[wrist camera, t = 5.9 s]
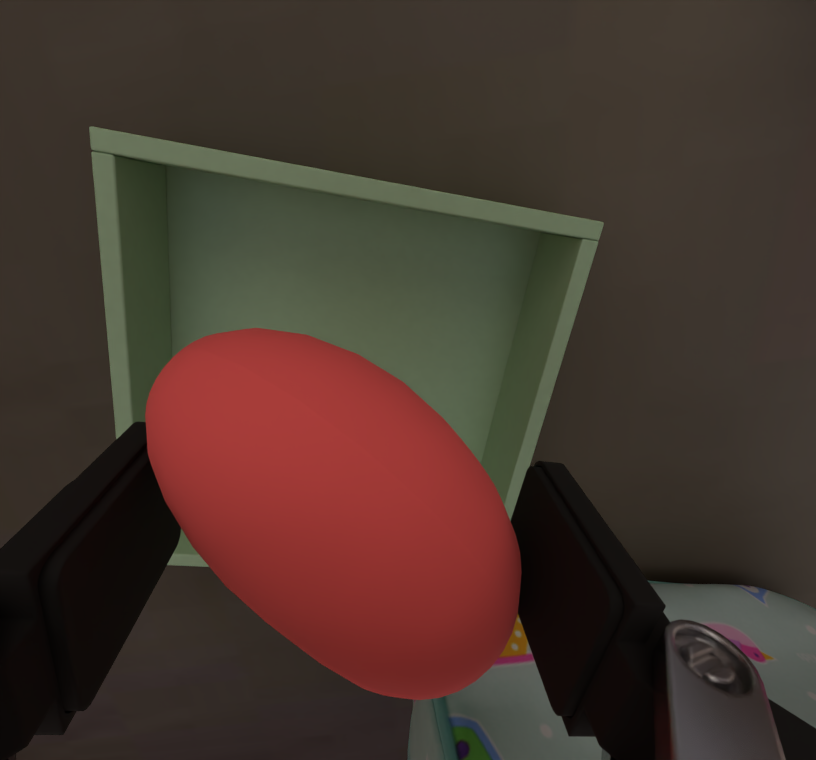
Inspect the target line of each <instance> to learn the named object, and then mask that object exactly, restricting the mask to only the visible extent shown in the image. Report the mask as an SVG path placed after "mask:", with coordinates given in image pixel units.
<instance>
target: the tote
mask: <svg viewBox="0 0 816 760" xmlns="http://www.w3.org/2000/svg"><path fill="white" fill-rule="evenodd" d="M89 131H90V143H91V149H92V150H93V152H92V153H91V154H92V166H93V177H94V189H95V200H96V212H97V223H98V234H99V246H100V257H101V269H102V280H103V292H104V303H105V315H106V326H107V338H108V349H109V361H110V372H111V383H112V395H113V406H114V418H115V429H116V439H118V438H119V437H120V436H121V435H122V434H123V433H124V432H125V431H126V430H127V429H128V428H129V427H130V426H131V425H132V424H133V423H135V422H138V421H139V422H146V420H145V411H146V403H147V400H148V396H149V393H150V390H151V388H152V386H153V384H154V382H155V380H156V378H157V377H158V375H159V374H160V372H161V371H162V369H163V368H164V367H165V365H166V364H167V363H168V362H169V361H170V360H171V359H172V358H173V357H174V356H175V355H176V354H177V353H178V352H179V351H181V350H182V349H183V348H184V347H186V346H188V345H189V344H191V343H192V342H194V341H196V340H198V339H200V338H203V337H205V336H208V335H212V334H216V333H222V332H229V331H235V330H242V329H250V328H262V329H270V330H277V331H284V332H291V333H299V334H306V335H309V336H312V337H314V338H317V339H320V340H322V341H325V342H327V343H330V344H333V345H335V346H338V347H341V348H343V349H346V350H348V351H351V352H354V353H356V354H359V355H360V356H362V357H363V358H365V359H367V360H368V361H370V362H372V363H373V364H375V365H377V366H378V367H380V368H381V369H383V370H385V371H386V372H388V373H390V374H391V375H393V376H395V377H396V378H398V379H399V380H401V381H403V382H404V383H405V384H406V385H407V386H408V387H409V388H411V389H412V390H413V391H414V392H415V393H416V394H417V395H418V396H419V397H421V398H422V399H423V400H424V401H425V402H426V403H427V404H428V405H429V406H431V407H432V408H433V409H434V410H435V411H436V412H437V413H438V414H439V415H441V416H442V417H443V418H444V420H445V421H446V422H447V423H448V424H449V425H450V426H451V428H452V429H453V430H454V431H455V432H456V433H457V435H458V436H459V437H460V438H461V439H462V440H463V442H464V443H465V444H466V445H467V447H468V448H469V449H470V450H471V452H472V453H473V454H474V456H475V457H476V458H477V460H478V461H479V462H480V464H481V465H482V466H483V468H484V469H485V471H486V472H487V474H488V475H489V477H490V478H491V480H492V482H493V483H494V485H495V487H496V489H497V491H498V493H499V495H500V497H501V499H502V502H503V504H504V507H505V509H506V512H507V514H508V516H509V519H510V521H511V518H512V515H513V512H514V508H515V505H516V502H517V499H518V496H519V493H520V490H521V487H522V484H523V480H524V477H525V474H526V471H527V469H528V468H529V466H530V463H531V460H532V457H533V453H534V450H535V447H536V444H537V440H538V437H539V434H540V431H541V427H542V424H543V421H544V418H545V414H546V411H547V408H548V405H549V401H550V398H551V395H552V392H553V388H554V385H555V382H556V379H557V375H558V372H559V369H560V366H561V362H562V359H563V356H564V353H565V349H566V346H567V343H568V340H569V336H570V333H571V330H572V327H573V323H574V320H575V317H576V314H577V310H578V307H579V304H580V301H581V297H582V294H583V291H584V288H585V284H586V281H587V278H588V275H589V271H590V268H591V265H592V262H593V258H594V255H595V252H596V249H597V245H598V240H599V238H600V235H601V231H602V228H603V225H604V223H603V222H600V221H595V220H590V219H584V218H579V217H574V216H568V215H563V214H558V213H552V212H547V211H542V210H536V209H531V208H526V207H520V206H515V205H510V204H504V203H499V202H494V201H488V200H483V199H478V198H472V197H467V196H461V195H456V194H451V193H445V192H440V191H435V190H429V189H424V188H419V187H413V186H408V185H403V184H397V183H392V182H387V181H381V180H376V179H371V178H365V177H360V176H355V175H349V174H344V173H339V172H333V171H328V170H323V169H317V168H312V167H306V166H301V165H296V164H290V163H285V162H280V161H274V160H269V159H264V158H258V157H253V156H248V155H242V154H237V153H232V152H226V151H221V150H216V149H210V148H205V147H200V146H194V145H189V144H184V143H178V142H173V141H168V140H162V139H157V138H151V137H146V136H141V135H135V134H130V133H125V132H119V131H114V130H109V129H103V128H98V127H93V126H92V127H90V128H89ZM167 565H180V566H203V567H209V566H208V564H207V563H206V562H205V561H204V560H203V559H202V557H201V556H200V555H199V554H198V553H197V551H196V550H195V549H194V548H193V547H192V545H191V543H190V542H189V540H188V538H187V537H186V535H185V533H184V532H183V530H182V529H181V534H180V539H179V542H178V545H177V547H176V549H175V551H174V553H173V555H172V556H171V558H170V560H169V562H168V564H167Z"/></svg>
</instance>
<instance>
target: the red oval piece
mask: <svg viewBox="0 0 816 760" xmlns="http://www.w3.org/2000/svg"><path fill="white" fill-rule="evenodd" d="M145 420H146V433H147V449H148V456H149V459H150V463H151V466H152V469H153V471H154V474H155V477H156V479H157V482H158V484H159V487H160V490H161V492H162V495H163V498H164V500H165V502H166V504H167V505H168V507H169V509H170V510H171V512H172V514H173V515H174V517H175V519H176V520H177V522H178V524H179V525H180V527H181V529H182V530H183V532H184V533H185V535H186V537H187V538H188V540H189V542H190V543H191V545H192V547H193V548H194V549H195V550H196V551H197V553H198V554H199V555H200V556H201V557H202V559H203V560H204V561H205V562H206V563H207V564H208V566H209V567H210V568H211V569H212V570H213V572H214V573H215V574H216V575H217V576H218V577H219V579H220V580H221V581H222V582H223V583H224V585H225V586H226V587H227V588H228V589H229V590H231V591H232V592H233V593H234V594H235V595H236V596H237V597H238V598H240V599H241V600H242V601H243V602H244V603H245V604H246V605H247V606H248V607H250V608H251V609H252V610H253V611H254V612H255V613H256V614H257V615H258V616H260V617H261V618H262V619H263V620H264V621H265V622H266V623H268V624H269V625H270V626H272V627H273V628H274V629H276V630H277V631H278V632H279V633H281V634H282V635H283V636H285V637H286V638H287V639H289V640H290V641H291V642H292V643H294V644H295V645H296V646H298V647H299V648H300V649H302V650H303V651H304V652H306V653H307V654H308V655H310V656H311V657H312V658H314V659H315V660H316V661H318V662H319V663H320V664H322V665H324V666H325V667H327V668H329V669H330V670H332V671H334V672H336V673H337V674H339V675H341V676H342V677H344V678H346V679H347V680H349V681H351V682H352V683H354V684H356V685H358V686H359V687H361V688H363V689H365V690H368V691H371V692H374V693H378V694H381V695H385V696H391V697H397V698H405V699H414V700H425V699H434V698H440V697H443V696H446V695H449V694H452V693H455V692H458V691H460V690H462V689H463V688H465V687H467V686H468V685H470V684H472V683H473V682H475V681H477V680H478V679H479V678H480V677H481V676H482V675H483V674H484V673H485V672H486V671H488V670H489V669H490V668H491V667H492V665H493V664H494V663H495V661H496V660H497V659H498V657H499V656H500V655H501V653H502V652H503V651H504V649H505V647H506V645H507V643H508V640H509V638H510V636H511V634H512V632H513V629H514V625H515V621H516V618H517V614H518V606H519V596H520V585H521V574H522V570H521V556H520V549H519V545H518V542H517V538H516V534H515V531H514V529H513V526H512V524H511V521H510V519H509V516H508V514H507V512H506V509H505V507H504V504H503V502H502V499H501V497H500V495H499V493H498V491H497V489H496V487H495V485H494V483H493V482H492V480H491V478H490V477H489V475H488V474H487V472H486V471H485V469H484V468H483V466H482V465H481V464H480V462H479V461H478V460H477V458H476V457H475V456H474V454H473V453H472V452H471V450H470V449H469V448H468V447H467V445H466V444H465V443H464V442H463V440H462V439H461V438H460V437H459V436H458V435H457V433H456V432H455V431H454V430H453V429H452V428H451V426H450V425H449V424H448V423H447V422H446V421H445V420H444V418H443V417H442V416H441V415H439V414H438V413H437V412H436V411H435V410H434V409H433V408H432V407H431V406H429V405H428V404H427V403H426V402H425V401H424V400H423V399H422V398H421V397H419V396H418V395H417V394H416V393H415V392H414V391H413V390H412V389H411V388H409V387H408V386H407V385H406V384H405V383H404V382H403V381H401V380H399V379H398V378H396V377H395V376H393V375H391V374H390V373H388V372H386V371H385V370H383V369H381V368H380V367H378V366H377V365H375V364H373V363H372V362H370V361H368V360H367V359H365V358H363V357H362V356H360V355H359V354H356V353H354V352H351V351H348V350H346V349H343V348H341V347H338V346H335V345H333V344H330V343H327V342H325V341H322V340H320V339H317V338H314V337H312V336H309V335H306V334H299V333H291V332H284V331H277V330H270V329H262V328H250V329H242V330H235V331H229V332H222V333H216V334H212V335H208V336H205V337H203V338H200V339H198V340H196V341H194V342H192V343H191V344H189V345H188V346H186V347H184V348H183V349H182V350H181V351H179V352H178V353H177V354H176V355H175V356H174V357H173V358H172V359H171V360H170V361H169V362H168V363H167V364H166V365H165V367H164V368H163V369H162V371H161V372H160V374H159V375H158V377H157V378H156V380H155V382H154V384H153V386H152V388H151V390H150V393H149V396H148V400H147V403H146V411H145Z"/></svg>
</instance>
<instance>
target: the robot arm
mask: <svg viewBox="0 0 816 760" xmlns="http://www.w3.org/2000/svg"><path fill="white" fill-rule="evenodd" d="M511 524H512V526H513V529H514V531H515V534H516V538H517V542H518V545H519V549H520V556H521V570H522V574H521V585H520V596H519V606H518V615H519V618H520V621H521V624H522V626H523V629H524V632H525V635H526V638H527V640H528V643H529V646H530V649H531V652H532V654H533V657H534V660H535V663H536V666H537V669H538V671H539V674H540V677H541V680H542V683H543V685H544V688H545V691H546V694H547V697H548V699H549V702H550V705H551V707H552V710H553V711H554V713H555V714H556V715H557V716H561V717H562V720H563V722H564V725H565V728H566V730H567V733H568V736H569V737H596V739H597V742H598V744H599V746H600V747H601V748H602V755H601V760H816V728H815V727H813V726H811V725H810V724H808V723H807V722H805V721H803V720H802V719H800V718H799V717H797V716H796V715H794V714H792V713H791V712H789V711H788V710H786V709H784V708H783V707H781V706H780V705H778V704H777V703H775V702H773V701H772V700H770V699H769V698H768V697H767V694H766V691H765V687H764V684H763V681H762V679H761V677H760V675H759V672H758V670H757V669H756V667H755V666H754V665H753V663H752V662H751V661H750V659H749V658H748V657H747V656H746V655H745V654H744V653H743V652H742V651H741V650H740V649H739V648H738V647H737V646H736V645H735V644H734V643H733V642H731V641H730V640H729V639H727V638H726V637H725V636H723V635H722V634H721V633H719V632H717V631H715V630H713V629H711V628H710V627H708V626H706V625H703V624H700V623H698V622H695V621H691V620H683V619H679V620H675V621H671V622H670V621H669V619H668V618H667V617H666V615H665V614H664V612H663V611H664V609H665V607H666V605H665V604H664V602H663V601H662V600H661V598H660V597H659V596H658V594H657V593H656V591H655V590H654V589H653V587H652V586H651V585H650V583H649V582H648V580H647V579H646V578H645V576H644V575H643V573H642V572H641V571H640V569H639V568H638V567H637V565H636V564H635V562H634V561H633V560H632V558H631V557H630V556H629V554H628V553H627V551H626V550H625V549H624V547H623V546H622V544H621V543H620V542H619V540H618V539H617V538H616V536H615V535H614V533H613V532H612V531H611V529H610V528H609V527H608V525H607V524H606V522H605V521H604V520H603V518H602V517H601V515H600V514H599V513H598V511H597V510H596V509H595V507H594V506H593V504H592V503H591V502H590V500H589V499H588V497H587V496H586V495H585V493H584V492H583V491H582V489H581V488H580V486H579V485H578V484H577V482H576V481H575V480H574V478H573V477H572V475H571V474H570V473H569V471H568V470H567V468H566V467H565V466H564V465H563V464H561V463H553V462H543V461H538V462H536V464H535V465H534V467H533V466H530V467H529V468H528V469H527V471H526V474H525V477H524V480H523V484H522V487H521V490H520V493H519V496H518V499H517V502H516V505H515V508H514V512H513V515H512V518H511ZM180 534H181V527H180V525H179V524H178V522H177V520H176V519H175V517H174V515H173V514H172V512H171V510H170V509H169V507H168V505H167V504H166V502H165V500H164V498H163V495H162V492H161V490H160V487H159V484H158V482H157V479H156V477H155V474H154V471H153V469H152V466H151V463H150V459H149V456H148V449H147V433H146V422H139V421H138V422H135V423H133V424H132V425H131V426H130V427H129V428H128V429H127V430H126V431H125V432H124V433H123V434H122V435H121V436H120V437H119V438H118V439H116V440H115V441H114V442H113V443H112V444H111V445H110V446H109V447H108V448H107V449H106V450H105V451H104V452H103V453H102V454H101V455H100V456H99V457H98V458H97V459H96V460H95V461H94V462H93V463H92V464H91V465H90V466H89V467H88V468H87V469H85V470H84V471H83V472H82V473H81V474H80V475H79V476H78V477H77V478H76V479H75V480H74V481H72V482H71V483H69V484H68V485H67V486H65V487H64V488H63V489H62V490H61V491H60V492H59V493H58V494H57V495H56V496H55V497H54V498H53V499H52V500H51V501H50V502H49V503H48V504H47V505H46V506H45V507H44V508H43V509H41V510H40V511H39V512H38V513H37V514H36V515H35V516H34V517H33V518H32V519H31V520H30V521H29V522H28V523H27V524H26V525H25V526H24V527H23V528H22V529H21V530H20V531H19V532H18V533H16V534H15V535H14V536H13V537H12V538H11V539H10V540H9V541H8V542H7V543H6V544H5V545H4V546H3V547H2V548H1V549H0V760H16V753H17V752H19V751H20V750H22V749H23V748H25V747H27V746H28V744H29V742H30V741H31V739H32V738H33V736H34V735H63V734H64V732H65V731H66V729H67V727H68V725H69V724H70V722H71V720H72V718H73V717H74V715H75V713H76V711H84V710H86V709H87V708H88V707H89V705H90V704H91V703H92V701H93V699H94V698H95V696H96V694H97V692H98V690H99V688H100V687H101V685H102V683H103V681H104V679H105V677H106V676H107V674H108V672H109V670H110V668H111V666H112V665H113V663H114V661H115V659H116V657H117V655H118V654H119V652H120V650H121V648H122V646H123V644H124V643H125V641H126V639H127V637H128V635H129V633H130V632H131V630H132V628H133V626H134V624H135V622H136V621H137V619H138V617H139V615H140V613H141V611H142V610H143V608H144V606H145V604H146V602H147V600H148V599H149V597H150V595H151V593H152V591H153V589H154V588H155V586H156V584H157V582H158V580H159V578H160V577H161V575H162V573H163V571H164V569H165V567H166V566H167V564H168V562H169V560H170V558H171V556H172V555H173V553H174V551H175V549H176V547H177V545H178V542H179V539H180Z"/></svg>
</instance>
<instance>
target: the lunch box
mask: <svg viewBox="0 0 816 760" xmlns="http://www.w3.org/2000/svg"><path fill="white" fill-rule="evenodd" d="M648 582H649V583H650V585H651V586H652V587H653V589H654V590H655V591H656V593H657V594H658V596H659V597H660V598H661V600H662V601H663V602H664V604H665V605H666V607H665V609H664V611H663V612H664V614H665V615H666V617H667V618H668V619H669V621H670V622H671V621H675V620H679V619H683V620H691V621H695V622H698V623H700V624H703V625H706V626H708V627H710V628H711V629H713V630H715V631H717V632H719V633H721V634H722V635H723V636H725V637H726V638H727V639H729V640H730V641H731V642H733V643H734V644H735V645H736V646H737V647H738V648H739V649H740V650H741V651H742V652H743V653H744V654H745V655H746V656H747V657H748V658H749V659H750V661H751V662H752V663H753V665H754V666H755V667H756V669H757V670H758V672H759V675H760V677H761V679H762V681H763V684H764V687H765V691H766V694H767V697H768V698H769V699H770V700H772V701H773V702H775V703H777V704H778V705H780V706H781V707H783V708H784V709H786V710H788V711H789V712H791V713H792V714H794V715H796V716H797V717H799V718H800V719H802V720H803V721H805V722H807V723H808V724H810V725H811V726H813V727H815V728H816V609H814V608H812V607H810V606H808V605H806V604H804V603H802V602H799V601H797V600H794V599H792V598H789V597H787V596H784V595H781V594H779V593H775V592H772V591H769V590H766V589H763V588H759V587H754V586H748V585H729V584H683V583H669V582H658V581H649V580H648ZM601 755H602V748H601V747H600V746H599V744H598V742H597V739H596V737H569V736H568V733H567V730H566V728H565V725H564V722H563V720H562V717H561V716H557V715H556V714H555V713H554V711H553V710H552V707H551V705H550V702H549V699H548V697H547V694H546V691H545V688H544V685H543V683H542V680H541V677H540V674H539V671H538V669H537V666H536V663H535V660H534V657H533V654H532V652H531V649H530V646H529V643H528V640H527V638H526V635H525V632H524V629H523V626H522V624H521V621H520V618H519V615H518V614H517V618H516V621H515V625H514V629H513V632H512V634H511V636H510V638H509V640H508V643H507V645H506V647H505V649H504V651H503V652H502V653H501V655H500V656H499V657H498V659H497V660H496V661H495V663H494V664H493V665H492V667H491V668H490V669H489V670H488V671H486V672H485V673H484V674H483V675H482V676H481V677H480V678H479V679H478V680H477V681H475V682H473V683H472V684H470V685H468V686H467V687H465V688H463V689H462V690H460V691H458V692H455V693H452V694H449V695H446V696H443V697H440V698H434V699H425V700H414V699H413V711H412V715H411V723H410V734H409V742H408V760H601Z"/></svg>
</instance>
